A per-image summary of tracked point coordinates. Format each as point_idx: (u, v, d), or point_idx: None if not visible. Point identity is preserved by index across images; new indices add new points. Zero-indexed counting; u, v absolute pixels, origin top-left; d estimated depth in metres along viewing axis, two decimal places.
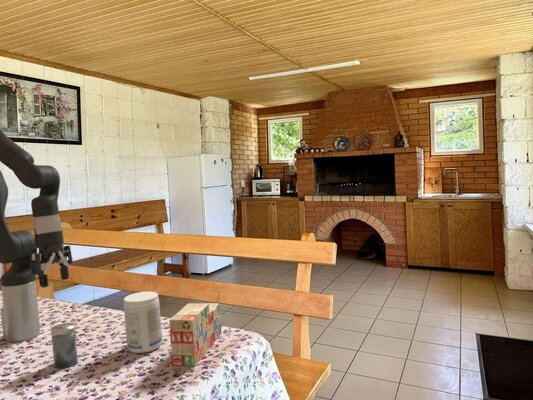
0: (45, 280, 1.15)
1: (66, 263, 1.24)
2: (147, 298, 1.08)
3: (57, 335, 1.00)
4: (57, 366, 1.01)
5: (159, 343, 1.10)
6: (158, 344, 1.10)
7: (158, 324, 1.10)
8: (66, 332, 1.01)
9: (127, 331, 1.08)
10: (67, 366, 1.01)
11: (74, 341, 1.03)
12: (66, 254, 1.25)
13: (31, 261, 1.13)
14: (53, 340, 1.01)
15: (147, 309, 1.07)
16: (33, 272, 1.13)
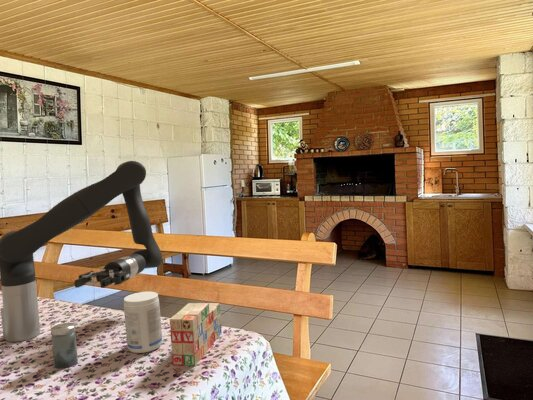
0: None
1: None
2: (147, 298, 1.08)
3: (57, 335, 1.00)
4: (57, 366, 1.01)
5: (159, 343, 1.10)
6: (158, 344, 1.10)
7: (158, 324, 1.10)
8: (66, 332, 1.01)
9: (127, 331, 1.08)
10: (67, 366, 1.01)
11: (74, 341, 1.03)
12: (88, 278, 1.22)
13: (126, 273, 1.19)
14: (53, 340, 1.01)
15: (147, 309, 1.07)
16: (120, 277, 1.16)
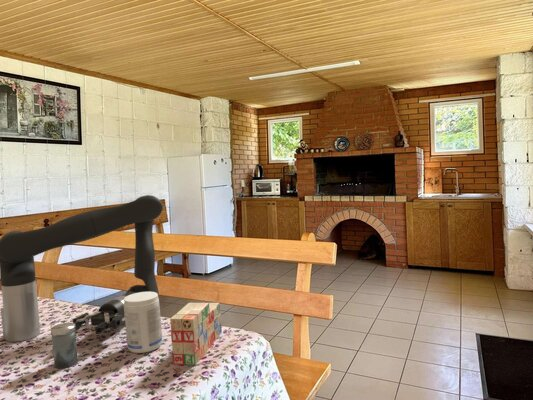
0: None
1: None
2: (147, 298, 1.08)
3: (57, 335, 1.00)
4: (57, 366, 1.01)
5: (159, 343, 1.10)
6: (158, 344, 1.10)
7: (158, 324, 1.10)
8: (66, 332, 1.01)
9: (127, 331, 1.08)
10: (67, 366, 1.01)
11: (74, 341, 1.03)
12: (83, 321, 1.19)
13: (121, 317, 1.17)
14: (53, 340, 1.01)
15: (147, 309, 1.07)
16: (116, 322, 1.13)
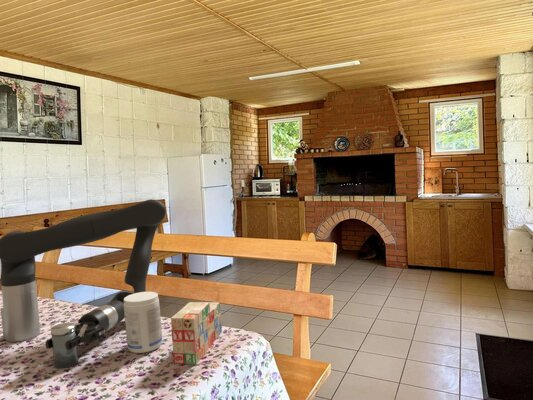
0: None
1: None
2: (147, 298, 1.08)
3: (57, 335, 1.00)
4: (57, 366, 1.01)
5: (159, 343, 1.10)
6: (158, 344, 1.10)
7: (158, 324, 1.10)
8: (66, 332, 1.01)
9: (127, 331, 1.08)
10: (67, 366, 1.01)
11: None
12: None
13: (99, 331, 1.07)
14: (53, 340, 1.01)
15: (147, 309, 1.07)
16: (89, 336, 1.04)
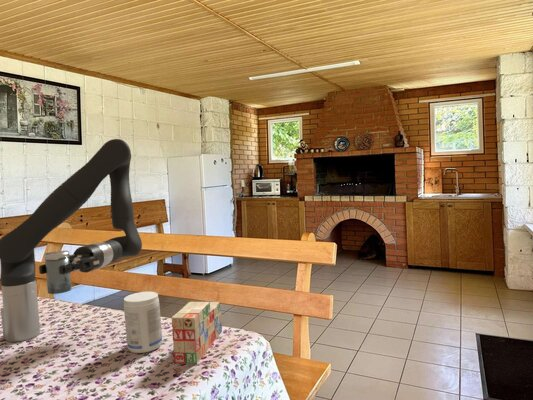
0: (68, 272, 1.00)
1: None
2: (147, 298, 1.08)
3: (50, 259, 0.99)
4: (50, 291, 0.99)
5: (159, 343, 1.10)
6: (158, 344, 1.10)
7: (159, 324, 1.10)
8: (60, 257, 0.99)
9: (127, 331, 1.08)
10: (60, 292, 1.00)
11: None
12: None
13: (93, 260, 1.06)
14: (46, 265, 0.99)
15: (147, 309, 1.07)
16: (83, 264, 1.03)
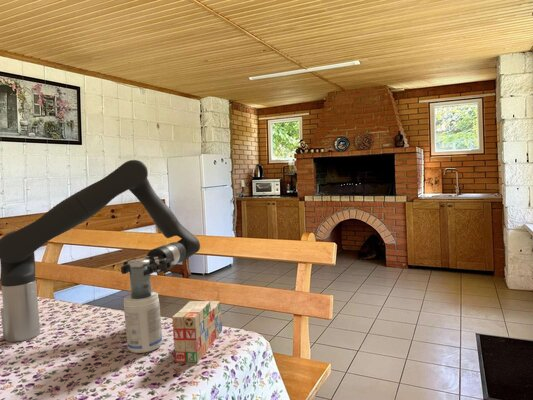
0: (153, 271, 1.09)
1: None
2: (147, 298, 1.08)
3: (135, 267, 1.07)
4: (135, 296, 1.08)
5: (159, 343, 1.10)
6: (158, 344, 1.10)
7: (159, 324, 1.10)
8: (143, 264, 1.08)
9: (127, 331, 1.08)
10: (143, 297, 1.08)
11: (149, 274, 1.10)
12: None
13: (171, 260, 1.15)
14: (131, 272, 1.08)
15: (147, 309, 1.07)
16: (166, 264, 1.11)
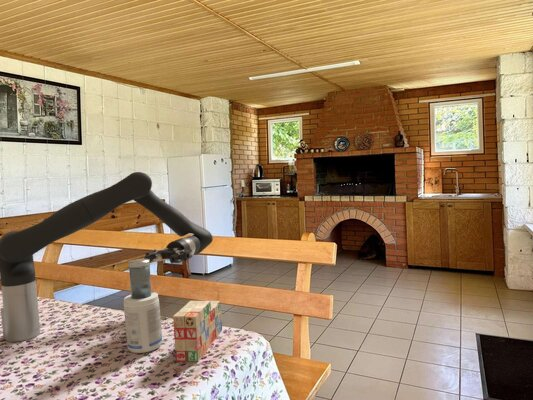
0: (175, 261, 1.22)
1: None
2: (147, 298, 1.08)
3: (135, 267, 1.07)
4: (135, 296, 1.08)
5: (159, 343, 1.10)
6: (158, 344, 1.10)
7: (158, 324, 1.10)
8: (143, 265, 1.08)
9: (127, 331, 1.08)
10: (143, 297, 1.08)
11: (149, 274, 1.10)
12: (153, 256, 1.29)
13: (190, 251, 1.27)
14: (131, 272, 1.08)
15: (147, 309, 1.07)
16: (186, 254, 1.24)
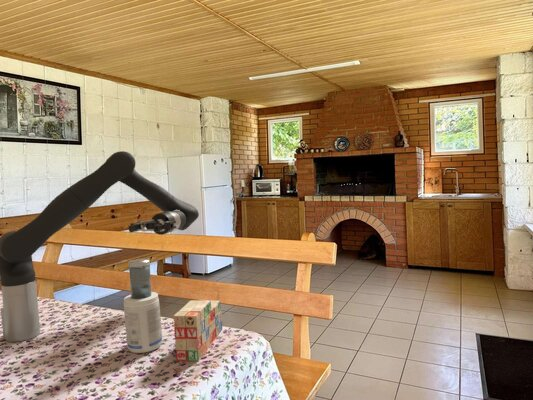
0: (158, 230, 1.25)
1: (138, 230, 1.30)
2: (147, 298, 1.08)
3: (136, 267, 1.07)
4: (135, 296, 1.08)
5: (159, 343, 1.10)
6: (158, 344, 1.10)
7: (159, 324, 1.10)
8: (143, 265, 1.08)
9: (127, 331, 1.08)
10: (144, 297, 1.08)
11: (149, 274, 1.10)
12: (138, 227, 1.32)
13: (174, 222, 1.30)
14: (131, 272, 1.08)
15: (147, 309, 1.07)
16: (170, 224, 1.27)
